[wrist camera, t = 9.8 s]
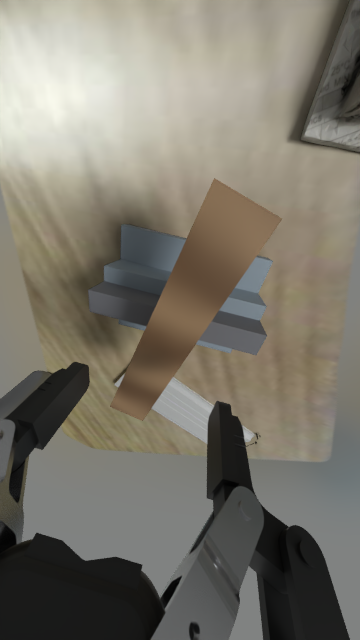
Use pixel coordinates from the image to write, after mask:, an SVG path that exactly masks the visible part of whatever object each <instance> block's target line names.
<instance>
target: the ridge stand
mask: <svg viewBox="0 0 360 640" xmlns="http://www.w3.org/2000/svg"><path fill="white" fill-rule="evenodd" d="M186 239H187V238H183V237H179V236H174V235H170V234H166V233H162V232H158V231H154V230H150V229H145V228H141V227H137V226H133V225H129V224H122V225H121V256H120V260H117V261H115V262H112V263H110V264H107V265H105V266H104V281H103V282H102V283H100V284H98V285H96V286H94V287H92V288H91V289H89V290H88V294H89V309H90V312H93V313H97V314H101V315H105V316H108V317H112V318H116V319H119V324H121V325H125V326H129V327H133V328H136V329H140V330H144V331H145V329H146V327H147V324H148V322H149V320H150V318H151V316H152V314H153V311H154V309H155V307H156V305H157V303H158V300H159V298H160V296H161V294H162V292H163V289H164V287H165V285H166V283H167V281H168V278H169V276H170V274H171V272H172V270H173V268H174V265H175V263H176V261H177V259H178V257H179V254H180V252H181V250H182V248H183V246H184V243H185V241H186ZM272 262H273V261H272V260H270V259H269V258H265V257H261V256H256V258H255V259H254V261H253V262H252V264H251V265H250V266H249V268H248V269H247V271H246V272H245V274H244V275H243V277H242V278H241V279H240V281H239V282H238V284H237V285H236V287H235V288H234V290H233V291H232V292H231V294H230V295H229V297H228V298H227V300H226V301H225V303H224V304H223V305H222V307H221V308H220V310H219V311H218V313H217V314H216V316H215V317H214V318H213V320H212V321H211V323H210V324H209V326H208V327H207V329H206V330H205V331H204V333H203V334H202V336H201V337H200V339H199V340H198V342H197V343H196V344H197V345H201V346H205V347H209V348H212V349H216V350H220V351H224V352H228V353H231V351H232V349H234V350H238V351H242V352H246V353H250V354H253V355H257V353H258V351H259V349H260V348H261V346H262V344H263V342H264V340H265V339H266V337H267V335H266V333H265V331H264V329H263V326H262V324H261V322H260V319H261V317H262V315H263V313H264V311H265V309H266V307H267V306H266V305H265V303H264V302H263V300H262V299H261V297H260V296H259V294H258V293H259V290H260V288H261V286H262V284H263V282H264V280H265V277H266V275H267V273H268V271H269V269H270V266H271V264H272Z"/></svg>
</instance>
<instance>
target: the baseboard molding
mask: <svg viewBox="0 0 360 640" xmlns="http://www.w3.org/2000/svg"><path fill="white" fill-rule="evenodd" d="M125 373H126V372H125ZM125 373H124V374H123V375H122V376H121V377H120V378H119V379H118V380H117V381H116V382H115V384H114V385H116V386H117V387H119V386H120V384H121V381H122V379H123V377H124V375H125ZM213 407H214V405H213V404H211V403H210V402H208V401H207V400H206V399H204V398H203V397H201V396H200V395H198V394H197V393H196V392H194V391H193V390H191V389H190V388H188V387H187V386H186V385H184V384H183V383H181V382H180V381H178V380H177V379H176V378H174V377H173V378H172V379H171V381H170V382H169V384H168V385H167V386H166V388H165V389H164V391H163V392H162V394H161V395H160V397H159V398H158V399H157V401H156V402H155V404H154V405H153V407H152V409H153V410H155V411H156V412H158V413H160V414H161V415H163V416H164V417H166V418H167V419H169V420H171V421H172V422H174V423H175V424H177V425H178V426H180V427H182V428H183V429H185V430H186V431H188V432H189V433H191V434H193V435H194V436H196V437H197V438H199V439H200V440H202V441H204V442H205V443H207V434H208V419H209V416H210V413H211V411H212V409H213ZM242 427H243V432H244V440H245V442H249V441H250V440H251V438H252V437H254V436H255V434H254V433H253V432H251V431H250V430H248V429H247V428H246V427H244V426H243V425H242ZM256 436H257V434H256ZM259 437H260V435H259ZM255 443H257V442H256V441H255ZM253 444H254V443H253ZM250 445H252V444H250ZM248 446H249V445H248Z"/></svg>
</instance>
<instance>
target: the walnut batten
mask: <svg viewBox="0 0 360 640" xmlns="http://www.w3.org/2000/svg"><path fill="white" fill-rule="evenodd" d="M281 220H282V218H280V217H278V216H277V215H275V214H273V213H272V212H270V211H268V210H267V209H265V208H263V207H262V206H260V205H258V204H257V203H255V202H253V201H252V200H250V199H248V198H247V197H245V196H243V195H242V194H240V193H238V192H237V191H235V190H233V189H231V188H230V187H228V186H226V185H225V184H223V183H221V182H220V181H218V180H216V179H215V178H214V180H213V182H212V184H211V187H210V189H209V191H208V193H207V195H206V197H205V200H204V202H203V204H202V206H201V208H200V211H199V213H198V215H197V217H196V219H195V222H194V224H193V226H192V228H191V230H190V233H189V235H188V237H187V239H186V241H185V243H184V246H183V248H182V250H181V252H180V254H179V257H178V259H177V261H176V263H175V265H174V268H173V270H172V272H171V274H170V276H169V278H168V281H167V283H166V285H165V287H164V289H163V292H162V294H161V296H160V298H159V300H158V303H157V305H156V307H155V309H154V311H153V314H152V316H151V318H150V320H149V322H148V324H147V327H146V329H145V331H144V333H143V335H142V338H141V340H140V342H139V344H138V346H137V349H136V351H135V353H134V355H133V357H132V359H131V362H130V364H129V366H128V368H127V370H126V373H125V375H124V377H123V379H122V381H121V384H120V386H119V388H118V390H117V392H116V394H115V397H114V399H113V401H112V403H111V405H110V407H112V408H114V409H117V410H119V411H121V412H124V413H126V414H128V415H130V416H133V417H135V418H137V419H139V420H142V421H143V420H144V418H145V417H146V415H147V414H148V412H149V411H150V410H151V408H152V407H153V405H154V404H155V402H156V401H157V399H158V398H159V397H160V395H161V394H162V392H163V391H164V389H165V388H166V386H167V385H168V384H169V382H170V381H171V379H172V378H173V376H174V375H175V373H176V372H177V370H178V369H179V368H180V366H181V365H182V363H183V362H184V360H185V359H186V357H187V356H188V355H189V353H190V352H191V350H192V349H193V347H194V346H195V344H196V343H197V342H198V340H199V339H200V337H201V336H202V334H203V333H204V331H205V330H206V329H207V327H208V326H209V324H210V323H211V321H212V320H213V318H214V317H215V316H216V314H217V313H218V311H219V310H220V308H221V307H222V305H223V304H224V303H225V301H226V300H227V298H228V297H229V295H230V294H231V292H232V291H233V290H234V288H235V287H236V285H237V284H238V282H239V281H240V279H241V278H242V277H243V275H244V274H245V272H246V271H247V269H248V268H249V266H250V265H251V264H252V262H253V261H254V259H255V258H256V256H257V255H258V253H259V252H260V251H261V249H262V248H263V246H264V245H265V243H266V242H267V240H268V239H269V238H270V236H271V235H272V233H273V232H274V230H275V229H276V227H277V226H278V225H279V223H280V222H281Z"/></svg>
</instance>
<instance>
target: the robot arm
mask: <svg viewBox="0 0 360 640" xmlns="http://www.w3.org/2000/svg"><path fill="white" fill-rule="evenodd" d="M89 382H90V380H89V367H88V365H85V364H81V363H78V362H74V363H72V364H71V365H70V366H69V367H68V368H67V369H63V368H62V369H60V370H58V371H57V372H55V373H53V374H50V373H48V372H45V371H34V372H33V373H31V374H30V375H29V376H28V377H27V378H25V379H24V380H23V381H22V382H21V383H19V384H18V385H17V386H16V387H14V388H13V389H12V390H11V391H10V392H8V393H7V394H6V395H5V396H4V397H2V398H1V399H0V640H228V639H229V637H230V634H231V631H232V628H233V626H234V623H235V620H236V617H237V613H238V609H239V604H240V598H239V592H240V588H241V585H242V582H243V579H244V577H245V574H246V571H247V569H248V566H250V567H251V568H252V569H253V570H254V571H256V572H257V581H258V591H259V601H260V611H261V621H262V631H263V640H350V638H349V635H348V632H347V629H346V626H345V623H344V619H343V616H342V613H341V610H340V606H339V603H338V600H337V597H336V594H335V590H334V587H333V584H332V581H331V577H330V575H329V571H328V568H327V565H326V561H325V558H324V556H323V554H322V551H321V549H320V548H319V546H318V544H317V543H316V541H315V540H314V538H313V537H312V536H311V535H310V534H309V533H308V532H307V531H306V530H305V529H303V528H302V527H300V526H296V525H293V526H291V527H288V526H287V525H285V524H284V523H282V522H281V521H280V520H278V519H277V518H276V517H274V516H273V515H272V514H270V513H269V512H268V511H267V510H266V509H265V508H264V507H263V506H262V505H261V504H260V502H259V500H258V499H257V497H256V495H255V493H254V490H253V487H252V482H251V476H250V469H249V463H248V457H247V451H246V445H245V440H244V432H243V427H242V425H241V423H240V421H239V419H238V417H236V416H233V415H232V412H231V406H230V404H227V403H223V402H219V401H217V402H216V403H215V405H214V407H213V409H212V411H211V413H210V416H209V419H208V434H207V498H208V499H211V500H213V507H214V508H213V509H214V510H213V512H212V514H211V515H210V517H209V518H208V520H207V522H206V523H205V525H204V527H203V529H202V530H201V532H200V534H199V535H198V537H197V538H196V540H195V542H194V544H193V545H192V547H191V549H190V550H189V552H188V553H187V555H186V556H185V558H184V559H183V560H182V562H181V563H180V565H179V566H178V568H177V570H176V571H175V572H174V574H173V576H172V577H171V579H170V581H169V582H168V584H167V586H166V587H165V589H164V591H163V592H162V594H161V595H160V597H159V595H158V593H157V591H156V589H155V587H154V586H153V584H152V582H151V580H150V579H149V578H148V577H147V575H146V574H145V573H143V572H142V571H141V569H142V565H141V564H138V563H134V562H131V561H128V560H125V559H122V558H118V557H112V558H104V559H97V560H89V561H85V560H83V559H81V558H80V557H79V556H78V555H77V554H75V552H74V551H73V550H72V549H71V548H70V547H69V546H67V545H66V544H65V543H64V542H63V541H62V540H58V539H56V538H52V537H49V536H46V535H42V534H39V533H36V534H35V536H34V538H33V539H32V540H28V541H24V542H21V541H22V534H23V525H24V512H23V497H24V490H25V482H26V475H27V467H28V460H29V454H30V453H31V452H32V451H33V449H34V448H38V449H41V450H43V449H44V447H45V446H46V445H47V443H48V442H49V441H50V439H51V438H52V437H53V435H54V434H55V432H56V431H57V430H58V428H59V427H60V426H61V424H62V423H63V422H64V420H65V419H66V418H67V416H68V415H69V414H70V412H71V411H72V410H73V408H74V407H75V406H76V404H77V403H78V402H79V400H80V399H81V398H82V396H83V395H84V394H85V392H86V391H87V389H88V386H89Z"/></svg>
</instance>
